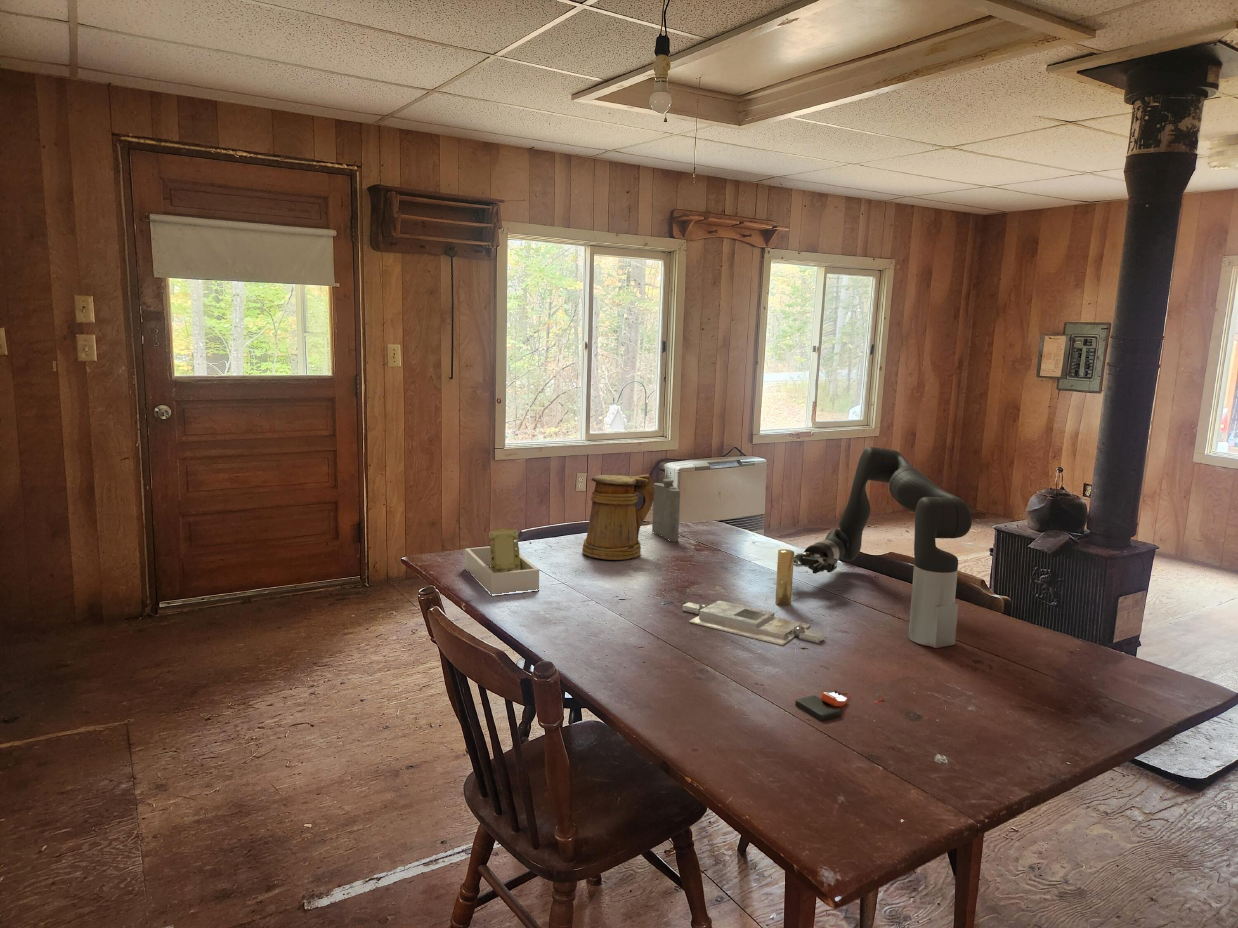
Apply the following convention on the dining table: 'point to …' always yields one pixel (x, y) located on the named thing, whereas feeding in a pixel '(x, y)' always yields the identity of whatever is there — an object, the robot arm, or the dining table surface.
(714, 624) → the peg-in-hole plate
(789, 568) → the pin
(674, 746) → the dining table surface
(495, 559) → the mechanical component
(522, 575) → the parts tray
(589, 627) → the dining table surface
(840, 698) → the multimeter
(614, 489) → the tankard
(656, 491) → the hip flask
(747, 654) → the dining table surface
